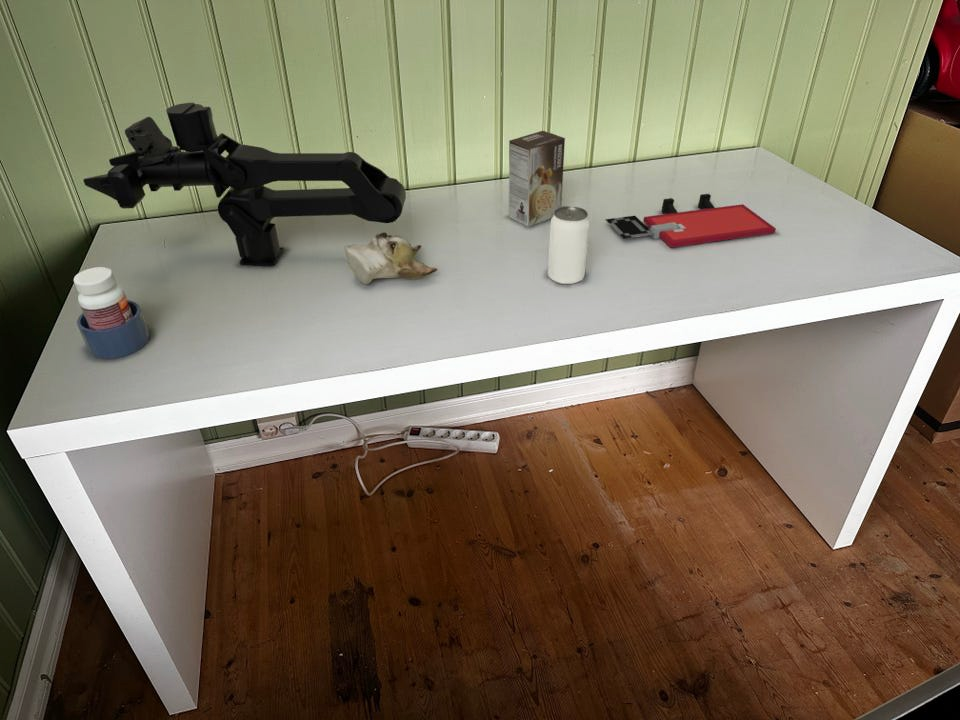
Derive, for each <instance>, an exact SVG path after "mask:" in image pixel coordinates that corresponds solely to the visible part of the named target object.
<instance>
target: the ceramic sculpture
mask: <svg viewBox="0 0 960 720" xmlns="http://www.w3.org/2000/svg"><path fill="white" fill-rule="evenodd" d="M421 249H422V245H421V244H418V245H415V246H412V245H411V244H410V242H409V241H408V240H407V239H405V238H404V237H403V236H401V235H398V234H395V235H391V234H388V233H387V232H383V231H382V232H381V233H377V234H376V235H375V236H373V237H372V238H371V240H370V242H369V243H368V244H365V245H357V244H351V245H345V246H344V252H345V257H346V261H347V264H348V266H349V268H350V269H351V271H352V272H353V274H354V276H355V279H356V280H357V281H359V282H360V283H362V284H363V285H366V286H367V285H369V284H370V283H371V282H372V281H373V280H374V279H396V278H397V279H398V278H405V279H411V280H418V279H421V278H424V277H427V276H429V275H431V274H433V273H435V272H437V271H438V268H436V267H431V266H428V265H426V264H425V263H423V262H419V261H415V260H414V257H415V256H416V255H417V254H418V253H419V251H420V250H421Z"/></svg>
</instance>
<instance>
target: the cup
mask: <svg viewBox="0 0 960 720" xmlns="http://www.w3.org/2000/svg"><path fill="white" fill-rule="evenodd" d="M127 301H128V304H129V306H130V309H131V312H132V314H133V318H132V319H130V320H129V321H128V322H126V323H124V324H122V325H119V326H117V327H113V328H110V329H104V330H90V327H89V325H88V323H87V320H86V318H85V316H84V314H83V312H82V313H81V314H79V316H78V318H77V320H76V324H77V328H78V330H79V332H80V334H81V336H82V339H83V341H84V343H85V346H86V348H87V350H88V352H89V353H90V355H91V356H92V357H95V358H97V359H102V360H112V359H119V358H123V357H126V356H129V355H132V354H135V353H136V352H138V351H139V350H141V349H142V348H144V347H145V346H146V345H147V343H148V342H149V340H150V331H149V328H148V326H147V323H146V320H145V318H144V314H143V312H142V309H141V307H140V305H139V304H138V303H137V302H136V301H134V300H133V301H132V300H129V299H127Z"/></svg>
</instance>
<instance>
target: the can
mask: <svg viewBox="0 0 960 720" xmlns="http://www.w3.org/2000/svg"><path fill="white" fill-rule="evenodd" d="M588 215H589V214H588V211H587V210H586V209H584V208H583V207H578V206H575V205H564V206H561V207H560V208H557V209H556V210H555V211H554V216H553V217H552V218H551V219H550V228H549V241H548V243H549V244H548V261H547V264H548V265H547V276H548V278H549V279H550V280H551V281H553V282H554V283H556V284H559V285H567V286H569V285H570V286H571V285H575V284H578V283H579V282H581V281H582V280H583V279H584V278H585V274H586V264H587V263H586V262H587V255H588V244H589V234H590V220H589V217H588Z"/></svg>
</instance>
